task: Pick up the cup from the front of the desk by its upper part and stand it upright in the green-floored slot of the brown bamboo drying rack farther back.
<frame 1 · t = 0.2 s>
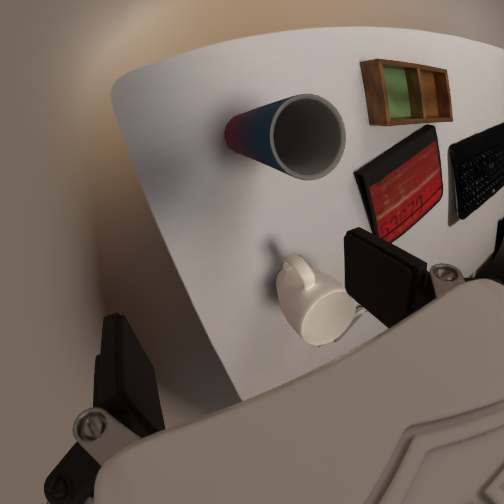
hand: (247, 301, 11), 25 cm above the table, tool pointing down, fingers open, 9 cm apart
binder: (404, 184, 46), on the table
toy airplane: (340, 321, 53), on the table
rack: (404, 93, 39), on the table
mug: (283, 268, 43), on the table
cup: (244, 133, 33), on the table
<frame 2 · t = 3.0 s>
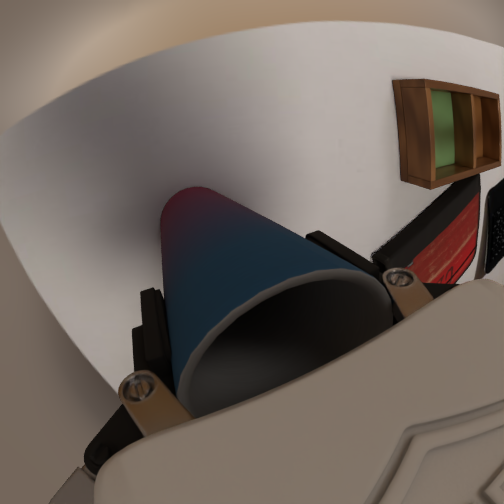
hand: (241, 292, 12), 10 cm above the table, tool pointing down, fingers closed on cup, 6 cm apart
binder: (433, 254, 33), on the table
rack: (447, 126, 26), on the table
cup: (195, 220, 20), on the table, touching gripper
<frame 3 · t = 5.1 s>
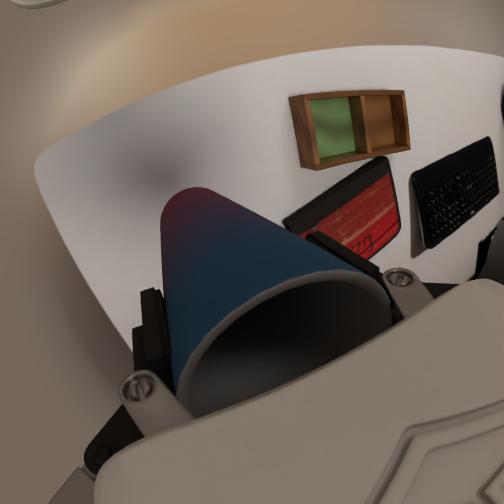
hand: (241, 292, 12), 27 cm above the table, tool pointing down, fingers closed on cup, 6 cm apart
binder: (349, 224, 47), on the table
rack: (349, 123, 40), on the table
cup: (194, 221, 20), point 16 cm above the table, touching gripper
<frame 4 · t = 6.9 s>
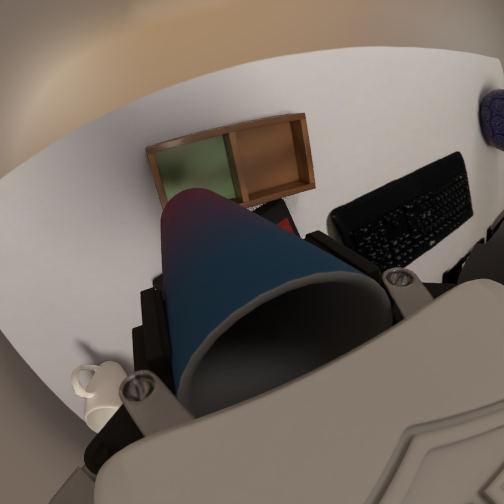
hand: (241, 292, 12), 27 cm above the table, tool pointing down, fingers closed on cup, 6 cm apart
binder: (240, 276, 44), on the table
rack: (229, 164, 36), on the table
mug: (103, 362, 41), on the table
cup: (195, 221, 20), point 17 cm above the table, touching gripper
planter: (487, 117, 53), on the table
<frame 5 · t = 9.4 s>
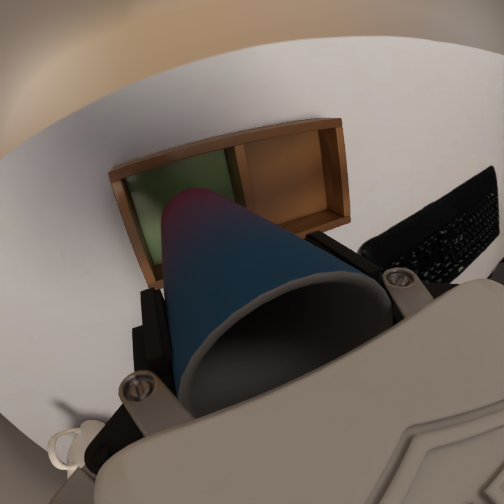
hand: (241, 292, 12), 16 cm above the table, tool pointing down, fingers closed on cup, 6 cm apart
rack: (234, 188, 26), on the table
mug: (86, 420, 30), on the table
cup: (195, 221, 20), point 5 cm above the table, touching gripper
when the fingers open (11 cm above the table, at t = 11.0 s): cup stays where it is, resting on rack.
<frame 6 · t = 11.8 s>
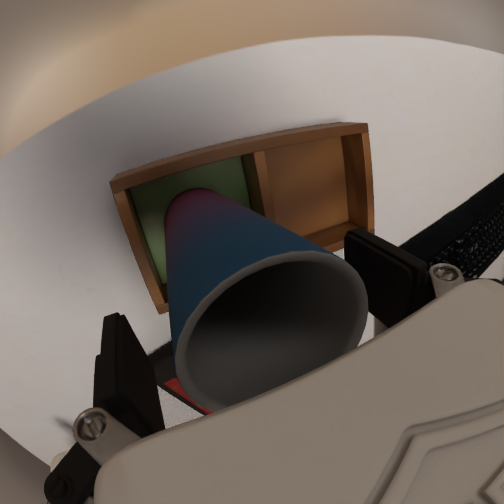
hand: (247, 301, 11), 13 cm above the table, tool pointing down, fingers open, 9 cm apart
binder: (261, 349, 31), on the table
rack: (250, 199, 24), on the table
cup: (196, 219, 22), point 1 cm above the table, touching rack
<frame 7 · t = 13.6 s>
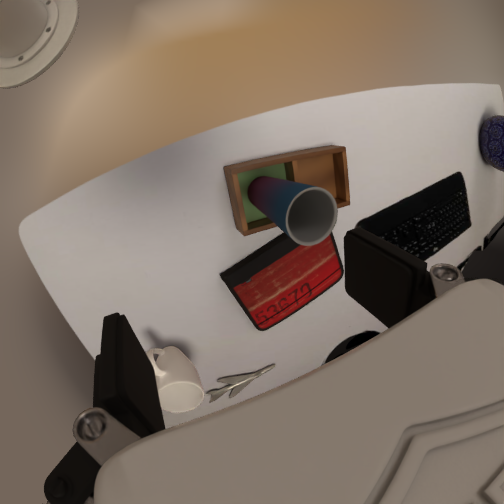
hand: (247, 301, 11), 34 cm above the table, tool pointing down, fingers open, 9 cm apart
binder: (287, 273, 54), on the table
toy airplane: (232, 383, 60), on the table
rack: (286, 183, 47), on the table
mug: (164, 348, 51), on the table
cup: (262, 191, 45), point 1 cm above the table, touching rack
planter: (485, 139, 64), on the table
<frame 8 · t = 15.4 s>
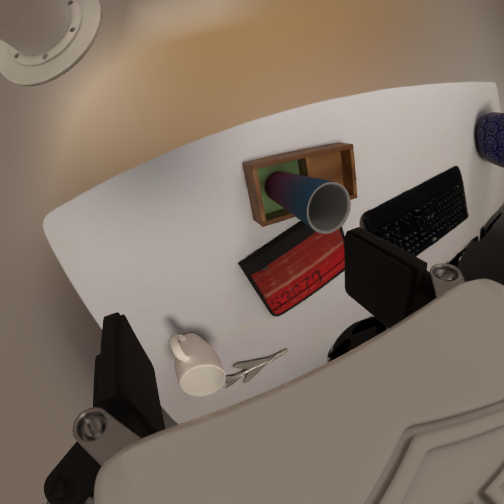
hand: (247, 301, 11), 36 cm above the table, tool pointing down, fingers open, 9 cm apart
binder: (299, 261, 58), on the table
toy airplane: (247, 368, 64), on the table
rack: (299, 178, 50), on the table
mug: (184, 335, 55), on the table
cup: (277, 185, 48), point 1 cm above the table, touching rack
planter: (481, 135, 67), on the table
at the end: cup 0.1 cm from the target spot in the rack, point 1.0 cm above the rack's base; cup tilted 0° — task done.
